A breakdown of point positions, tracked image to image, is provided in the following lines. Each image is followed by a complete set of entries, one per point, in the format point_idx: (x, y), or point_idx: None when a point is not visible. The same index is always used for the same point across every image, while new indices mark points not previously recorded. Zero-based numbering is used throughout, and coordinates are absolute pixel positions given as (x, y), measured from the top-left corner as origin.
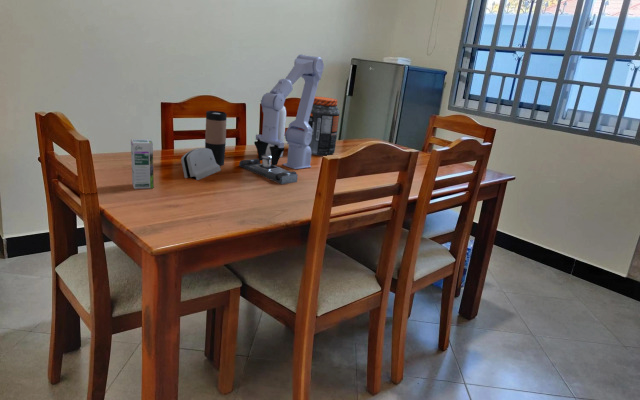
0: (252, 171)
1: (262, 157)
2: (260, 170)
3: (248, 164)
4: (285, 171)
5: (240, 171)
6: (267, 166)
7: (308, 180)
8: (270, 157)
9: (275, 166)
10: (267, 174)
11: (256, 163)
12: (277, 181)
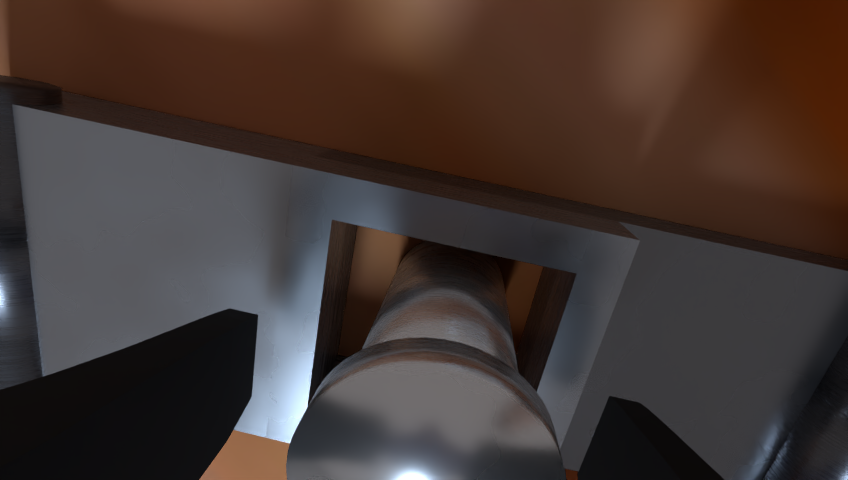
0: (623, 212)
1: (466, 355)
2: (441, 188)
3: (823, 337)
4: (109, 349)
5: (771, 73)
6: (381, 310)
7: None
8: (293, 452)
9: None
10: (268, 146)
11: (757, 461)
12: (72, 96)
